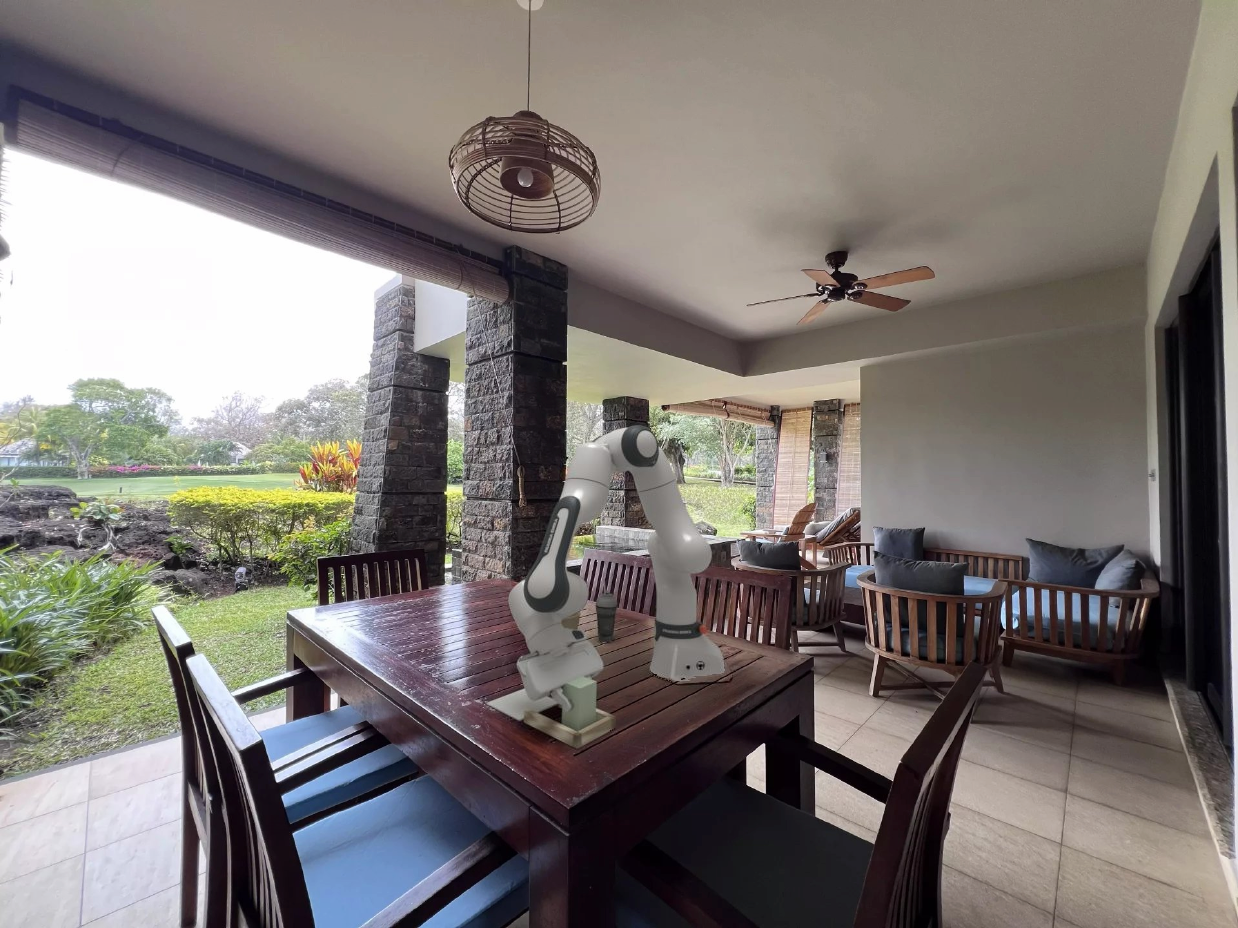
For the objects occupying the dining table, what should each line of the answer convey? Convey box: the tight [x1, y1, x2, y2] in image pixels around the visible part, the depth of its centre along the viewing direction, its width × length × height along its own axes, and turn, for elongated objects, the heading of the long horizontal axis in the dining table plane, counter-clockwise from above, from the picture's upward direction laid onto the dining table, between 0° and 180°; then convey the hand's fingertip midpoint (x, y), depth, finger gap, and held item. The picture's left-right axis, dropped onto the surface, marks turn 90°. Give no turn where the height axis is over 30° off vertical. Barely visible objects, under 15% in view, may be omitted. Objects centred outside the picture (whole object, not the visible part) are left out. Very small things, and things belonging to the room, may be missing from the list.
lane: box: [523, 704, 616, 750], centre depth 109 cm, size 16×11×2 cm
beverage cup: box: [594, 578, 618, 642], centre depth 166 cm, size 7×7×20 cm
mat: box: [485, 688, 559, 722], centre depth 119 cm, size 12×12×1 cm
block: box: [561, 676, 598, 732], centre depth 107 cm, size 5×5×10 cm
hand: (581, 704), depth 107 cm, fingers closed on block, 5 cm apart
